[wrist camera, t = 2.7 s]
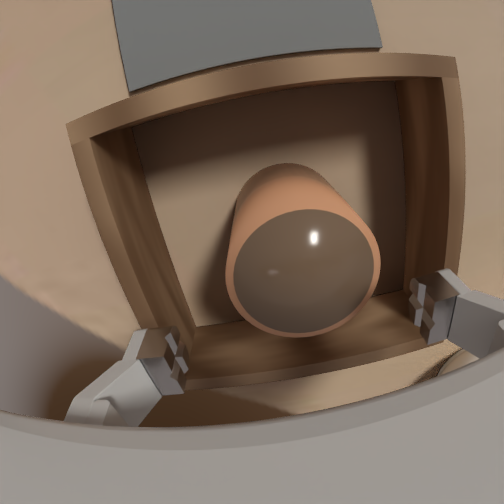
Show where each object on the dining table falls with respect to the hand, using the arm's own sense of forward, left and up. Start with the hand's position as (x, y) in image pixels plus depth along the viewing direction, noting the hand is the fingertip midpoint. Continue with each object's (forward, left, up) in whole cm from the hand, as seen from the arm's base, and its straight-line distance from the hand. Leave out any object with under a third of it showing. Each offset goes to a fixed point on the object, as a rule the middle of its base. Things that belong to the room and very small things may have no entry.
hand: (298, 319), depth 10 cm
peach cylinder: (-1, 0, -9) cm, 9 cm away
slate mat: (-1, -15, -9) cm, 18 cm away
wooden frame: (-1, 0, -9) cm, 9 cm away
